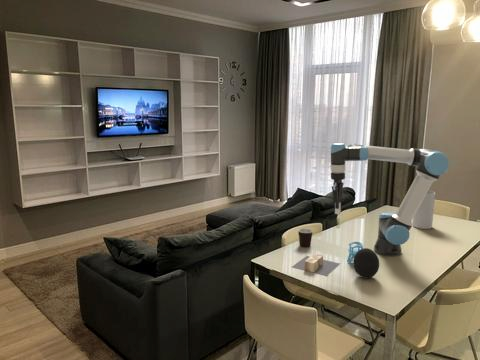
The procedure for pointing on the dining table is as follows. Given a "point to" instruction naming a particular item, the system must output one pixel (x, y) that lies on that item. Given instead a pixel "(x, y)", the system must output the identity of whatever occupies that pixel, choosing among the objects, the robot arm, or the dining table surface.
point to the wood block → (313, 263)
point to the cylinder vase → (425, 212)
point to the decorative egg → (366, 263)
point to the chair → (353, 251)
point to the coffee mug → (305, 237)
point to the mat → (322, 270)
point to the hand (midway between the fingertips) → (337, 213)
